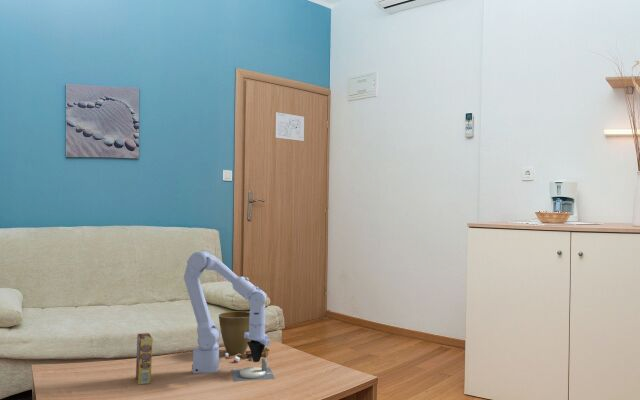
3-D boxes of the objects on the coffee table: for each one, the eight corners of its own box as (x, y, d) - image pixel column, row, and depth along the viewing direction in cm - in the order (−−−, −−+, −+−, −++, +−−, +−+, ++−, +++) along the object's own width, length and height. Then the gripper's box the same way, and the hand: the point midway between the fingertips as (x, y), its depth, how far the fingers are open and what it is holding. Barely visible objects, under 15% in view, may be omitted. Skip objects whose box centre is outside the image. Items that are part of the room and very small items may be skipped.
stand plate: (234, 384, 170) (234, 381, 170) (231, 372, 183) (231, 369, 183) (275, 381, 174) (275, 378, 174) (269, 370, 186) (269, 367, 186)
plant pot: (259, 354, 206) (260, 315, 207) (225, 359, 199) (225, 319, 199) (246, 346, 219) (246, 309, 220) (213, 350, 212) (213, 312, 212)
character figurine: (224, 361, 198) (224, 351, 198) (263, 353, 209) (263, 344, 209) (235, 367, 191) (235, 356, 191) (276, 359, 202) (276, 349, 202)
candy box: (151, 383, 171) (152, 338, 171) (138, 385, 169) (139, 339, 169) (148, 375, 179) (149, 332, 179) (135, 377, 177) (136, 333, 177)
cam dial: (239, 378, 173) (240, 363, 173) (239, 370, 182) (240, 356, 182) (267, 377, 174) (267, 362, 174) (266, 369, 183) (266, 355, 183)
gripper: (277, 326, 180) (276, 364, 180) (255, 319, 191) (255, 355, 191) (260, 328, 176) (260, 367, 175) (239, 321, 187) (238, 358, 187)
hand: (256, 361), depth 183 cm, fingers closed
